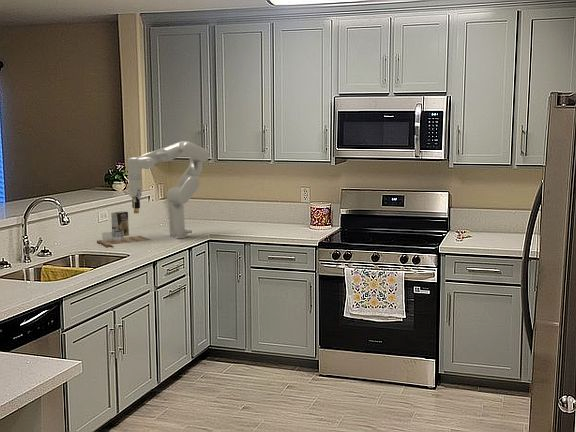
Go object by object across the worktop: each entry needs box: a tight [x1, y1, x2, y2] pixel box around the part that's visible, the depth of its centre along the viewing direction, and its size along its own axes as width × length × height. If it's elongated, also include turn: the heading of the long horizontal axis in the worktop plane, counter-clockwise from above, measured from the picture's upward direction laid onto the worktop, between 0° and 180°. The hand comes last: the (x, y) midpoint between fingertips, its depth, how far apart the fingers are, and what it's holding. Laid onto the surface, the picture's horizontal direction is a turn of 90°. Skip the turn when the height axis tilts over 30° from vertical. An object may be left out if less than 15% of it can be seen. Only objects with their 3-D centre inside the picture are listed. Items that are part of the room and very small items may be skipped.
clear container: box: [101, 228, 125, 243], centre depth 443 cm, size 13×13×6 cm
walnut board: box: [96, 235, 152, 248], centre depth 445 cm, size 28×19×2 cm
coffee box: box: [111, 211, 130, 237], centre depth 464 cm, size 9×6×16 cm
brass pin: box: [133, 196, 140, 214], centre depth 442 cm, size 3×3×10 cm
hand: (136, 207), depth 442 cm, fingers closed on brass pin, 3 cm apart
